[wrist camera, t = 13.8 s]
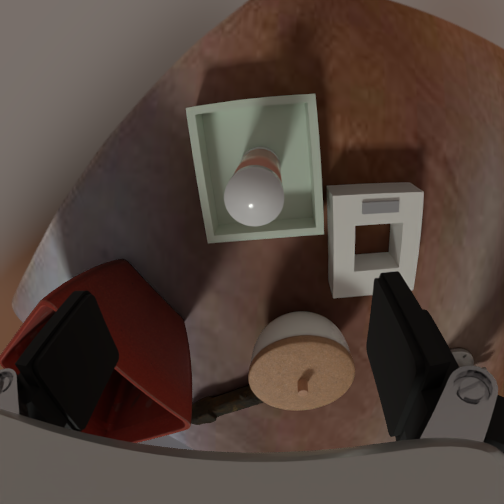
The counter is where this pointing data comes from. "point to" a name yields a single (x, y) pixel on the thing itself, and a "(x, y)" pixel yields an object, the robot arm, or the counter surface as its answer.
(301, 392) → the lidded bowl
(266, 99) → the parts tray
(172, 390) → the plant pot
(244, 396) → the hand tool
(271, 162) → the cylinder
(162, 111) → the counter surface
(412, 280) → the block
